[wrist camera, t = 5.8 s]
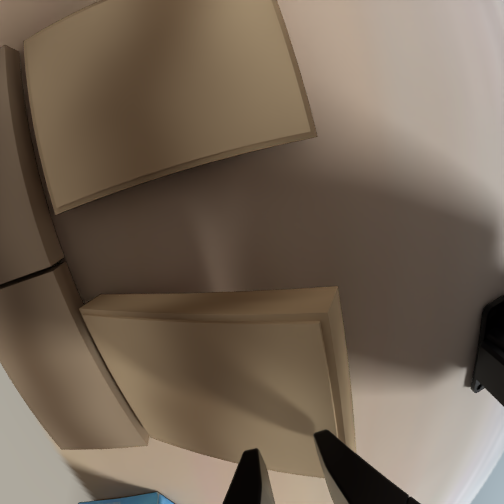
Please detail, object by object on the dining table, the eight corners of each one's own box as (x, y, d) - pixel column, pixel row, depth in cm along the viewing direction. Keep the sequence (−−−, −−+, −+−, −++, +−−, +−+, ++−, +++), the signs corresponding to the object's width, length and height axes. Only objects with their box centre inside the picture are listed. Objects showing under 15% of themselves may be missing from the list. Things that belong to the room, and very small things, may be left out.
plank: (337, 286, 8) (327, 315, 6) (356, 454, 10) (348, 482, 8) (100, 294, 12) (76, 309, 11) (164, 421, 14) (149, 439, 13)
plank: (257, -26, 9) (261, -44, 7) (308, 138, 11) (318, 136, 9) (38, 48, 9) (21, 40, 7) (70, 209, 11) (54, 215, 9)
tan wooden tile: (19, 51, 9) (4, 44, 7) (150, 428, 14) (147, 445, 13) (-59, 110, 8) (-74, 109, 7) (67, 435, 14) (61, 449, 12)
